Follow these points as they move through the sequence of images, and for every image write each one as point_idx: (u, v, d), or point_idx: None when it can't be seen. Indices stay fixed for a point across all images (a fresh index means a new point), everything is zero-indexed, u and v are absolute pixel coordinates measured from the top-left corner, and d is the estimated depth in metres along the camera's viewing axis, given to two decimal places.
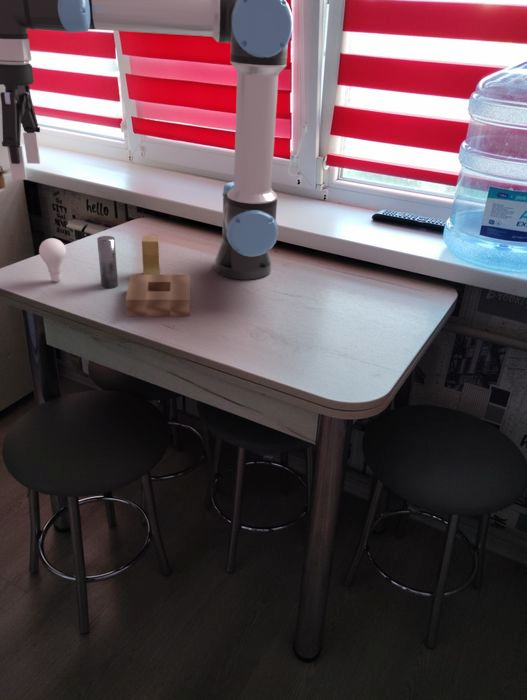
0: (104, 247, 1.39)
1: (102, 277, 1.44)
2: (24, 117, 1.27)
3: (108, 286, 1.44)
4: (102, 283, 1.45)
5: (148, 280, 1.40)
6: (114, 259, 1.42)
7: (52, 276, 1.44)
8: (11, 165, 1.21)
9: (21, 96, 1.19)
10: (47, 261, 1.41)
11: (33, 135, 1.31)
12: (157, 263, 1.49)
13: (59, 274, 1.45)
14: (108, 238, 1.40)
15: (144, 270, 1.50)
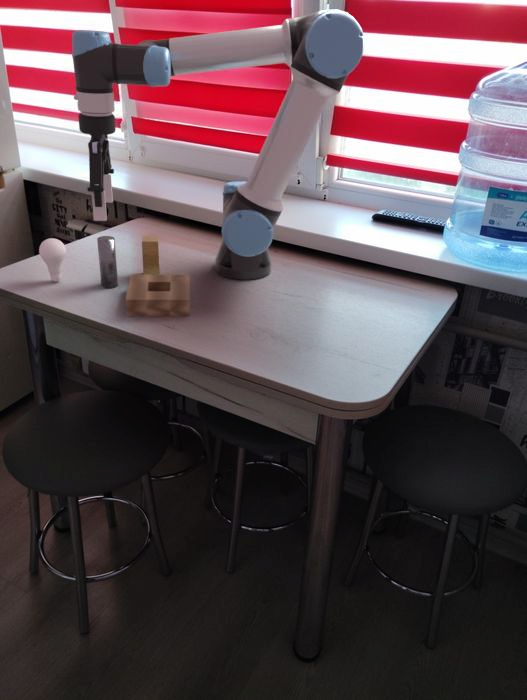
0: (104, 247, 1.39)
1: (102, 277, 1.44)
2: None
3: (108, 286, 1.44)
4: (102, 283, 1.45)
5: (148, 280, 1.40)
6: (114, 259, 1.42)
7: (52, 276, 1.44)
8: (94, 208, 1.29)
9: (104, 144, 1.28)
10: (47, 261, 1.41)
11: (108, 176, 1.39)
12: (157, 263, 1.49)
13: (59, 274, 1.45)
14: (108, 238, 1.40)
15: (144, 270, 1.50)
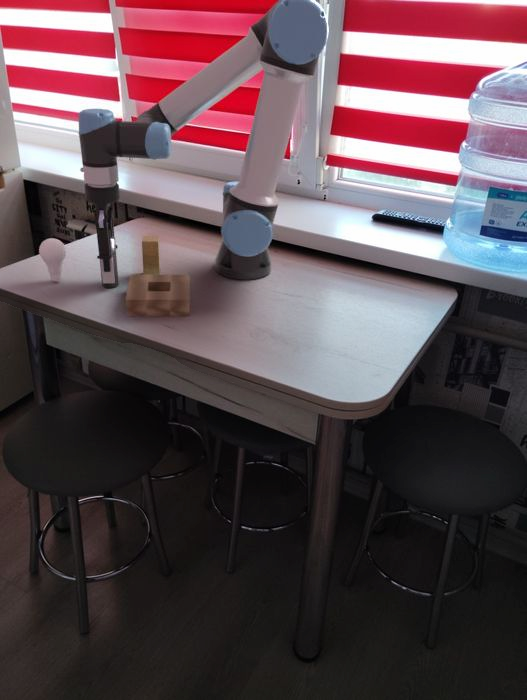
0: None
1: None
2: None
3: (109, 285, 1.44)
4: None
5: (148, 280, 1.40)
6: (114, 258, 1.42)
7: (52, 276, 1.44)
8: (103, 272, 1.42)
9: (109, 213, 1.35)
10: (47, 261, 1.41)
11: None
12: (157, 263, 1.49)
13: (59, 274, 1.45)
14: None
15: (144, 270, 1.50)
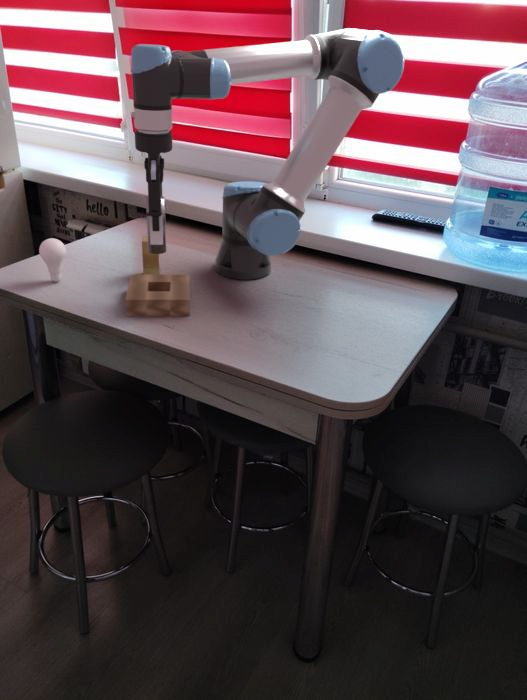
0: None
1: None
2: None
3: (156, 251, 1.31)
4: (149, 248, 1.31)
5: (148, 280, 1.40)
6: (164, 221, 1.29)
7: (52, 276, 1.44)
8: (151, 232, 1.28)
9: (161, 164, 1.22)
10: (47, 261, 1.41)
11: None
12: (157, 263, 1.49)
13: (59, 274, 1.45)
14: None
15: (144, 270, 1.50)
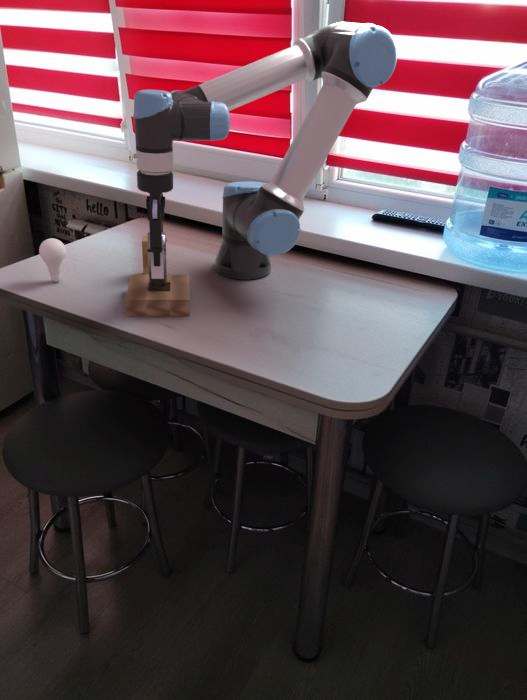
0: None
1: None
2: None
3: (157, 285, 1.35)
4: (150, 281, 1.36)
5: (148, 280, 1.40)
6: (164, 256, 1.33)
7: (52, 276, 1.44)
8: (152, 267, 1.32)
9: (162, 203, 1.26)
10: (47, 261, 1.41)
11: None
12: None
13: (59, 274, 1.45)
14: None
15: (144, 270, 1.50)
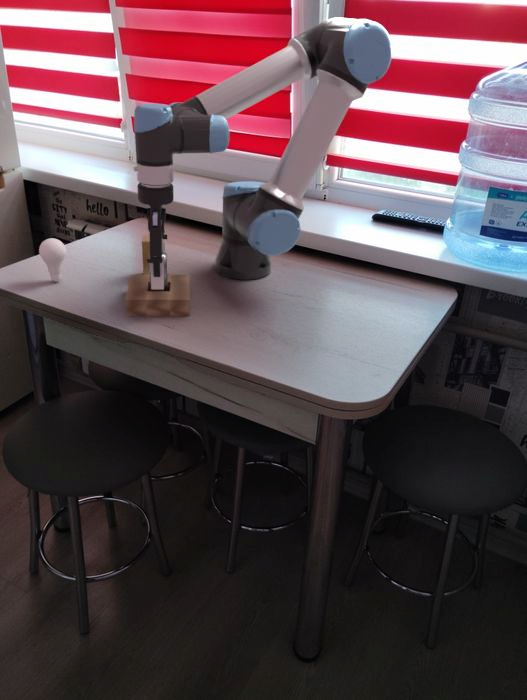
0: None
1: None
2: None
3: None
4: None
5: (148, 280, 1.40)
6: (166, 275, 1.35)
7: (52, 276, 1.44)
8: (152, 277, 1.29)
9: (162, 213, 1.27)
10: (47, 261, 1.41)
11: (162, 242, 1.39)
12: None
13: (59, 274, 1.45)
14: None
15: (144, 270, 1.50)
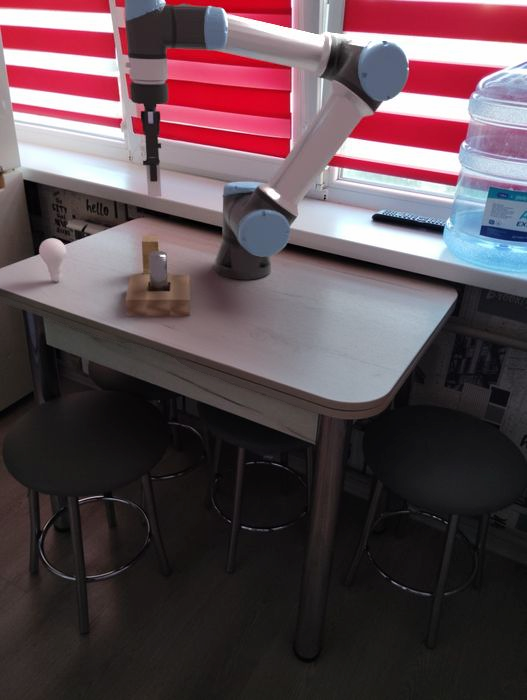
0: (156, 263, 1.33)
1: None
2: None
3: None
4: None
5: (148, 280, 1.40)
6: (165, 275, 1.35)
7: (52, 276, 1.44)
8: (148, 183, 1.22)
9: (157, 114, 1.21)
10: (47, 261, 1.41)
11: None
12: None
13: (59, 274, 1.45)
14: (160, 254, 1.34)
15: (144, 270, 1.50)
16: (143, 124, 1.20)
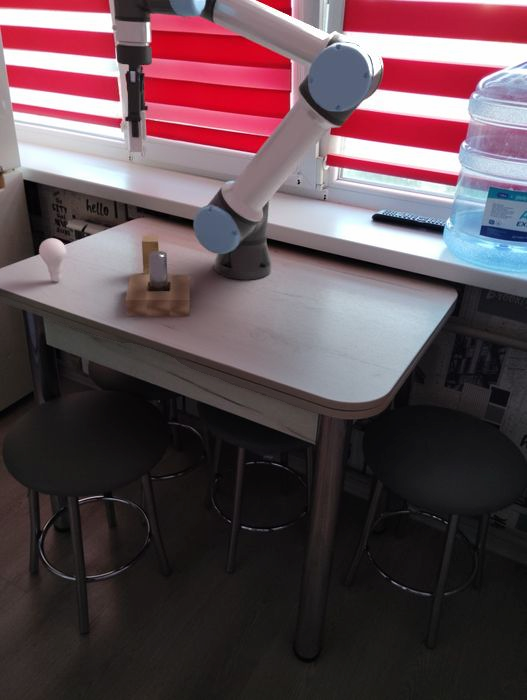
0: (156, 263, 1.33)
1: None
2: None
3: None
4: None
5: (148, 280, 1.40)
6: (165, 275, 1.35)
7: (52, 276, 1.44)
8: (130, 139, 1.31)
9: (141, 75, 1.30)
10: (47, 261, 1.41)
11: (142, 113, 1.41)
12: None
13: (59, 274, 1.45)
14: (160, 254, 1.34)
15: (144, 270, 1.50)
16: None
